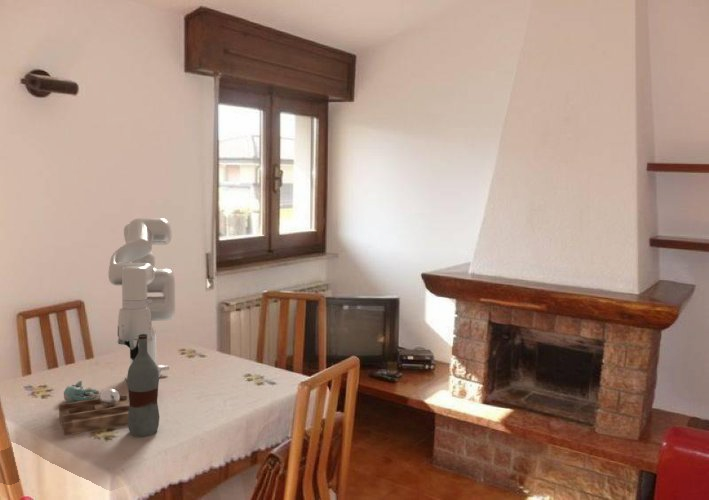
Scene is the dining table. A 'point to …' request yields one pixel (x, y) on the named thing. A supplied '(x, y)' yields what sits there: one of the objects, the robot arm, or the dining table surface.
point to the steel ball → (109, 398)
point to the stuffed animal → (78, 393)
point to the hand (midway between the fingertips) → (135, 360)
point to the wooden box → (92, 415)
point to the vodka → (143, 393)
